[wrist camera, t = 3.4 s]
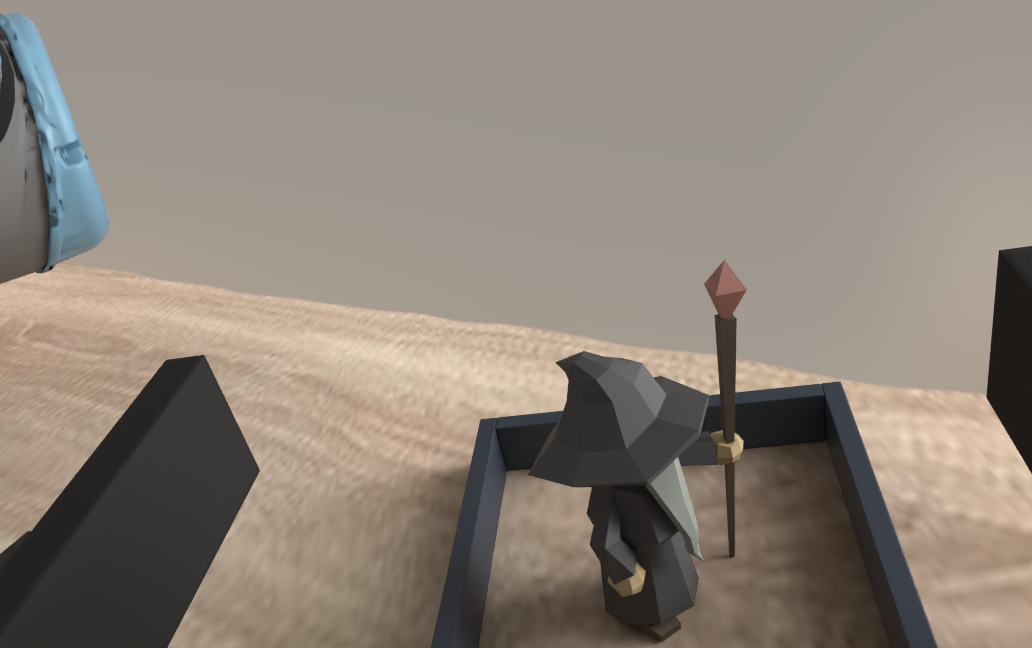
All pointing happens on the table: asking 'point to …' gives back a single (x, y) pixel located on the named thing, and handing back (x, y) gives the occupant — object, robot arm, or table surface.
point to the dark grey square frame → (756, 423)
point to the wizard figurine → (646, 468)
